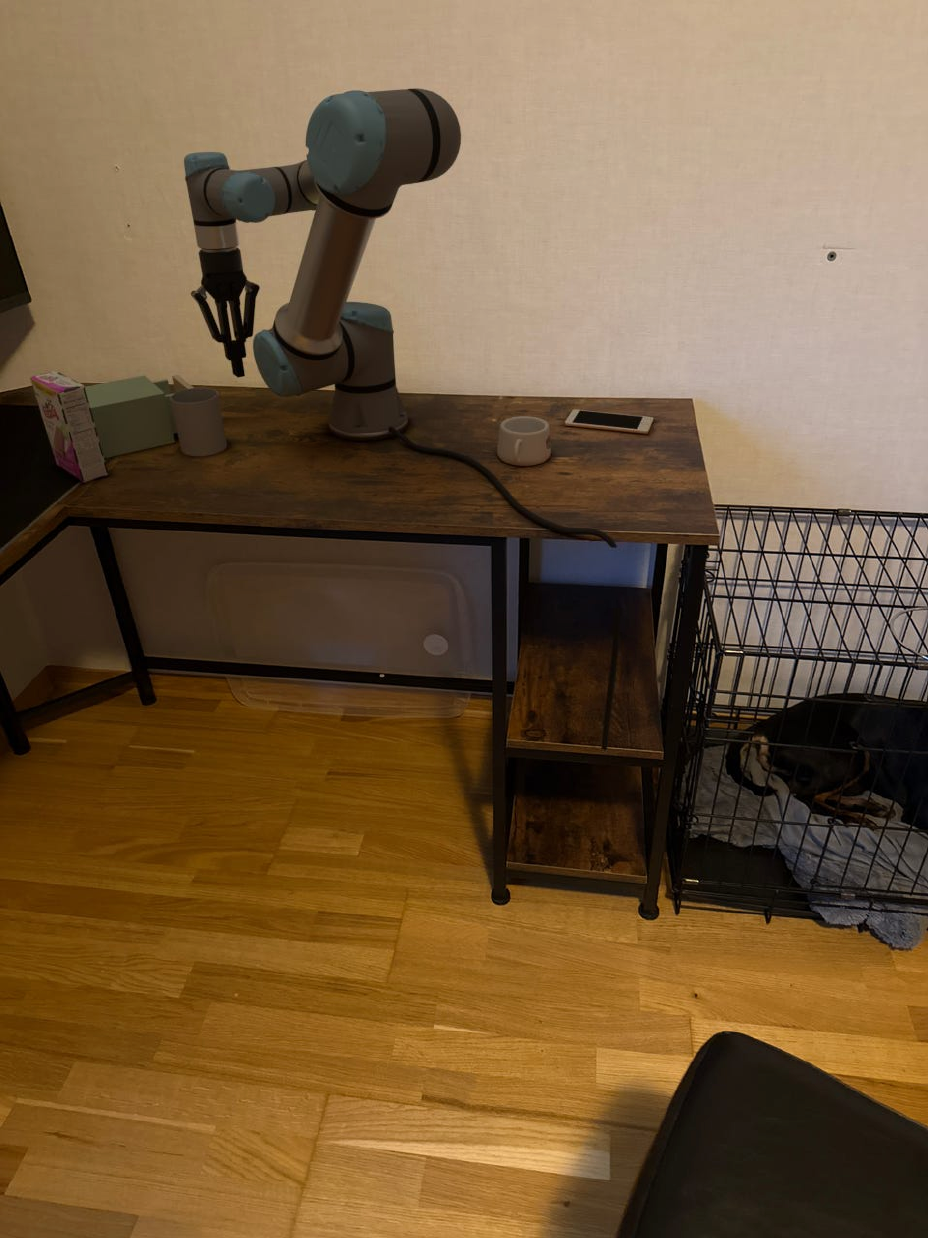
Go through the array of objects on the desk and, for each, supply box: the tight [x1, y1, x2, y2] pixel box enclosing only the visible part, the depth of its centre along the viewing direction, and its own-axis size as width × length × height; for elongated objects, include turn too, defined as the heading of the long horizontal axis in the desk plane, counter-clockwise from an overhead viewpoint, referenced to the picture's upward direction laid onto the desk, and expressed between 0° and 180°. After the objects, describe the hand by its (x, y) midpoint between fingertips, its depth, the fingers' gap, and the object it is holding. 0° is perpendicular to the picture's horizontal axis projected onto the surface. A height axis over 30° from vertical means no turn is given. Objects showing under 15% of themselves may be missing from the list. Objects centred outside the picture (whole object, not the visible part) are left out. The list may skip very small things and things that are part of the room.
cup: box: [171, 387, 228, 457], centre depth 158 cm, size 8×8×10 cm
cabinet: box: [85, 375, 176, 459], centre depth 162 cm, size 15×13×10 cm
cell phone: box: [564, 408, 654, 435], centre depth 168 cm, size 8×16×1 cm, turn 71°
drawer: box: [151, 374, 195, 435], centre depth 166 cm, size 18×11×8 cm, turn 124°
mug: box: [496, 415, 552, 467], centre depth 152 cm, size 12×10×6 cm
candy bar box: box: [29, 370, 109, 484], centre depth 148 cm, size 11×5×16 cm, turn 45°
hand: (238, 374), depth 171 cm, fingers closed
